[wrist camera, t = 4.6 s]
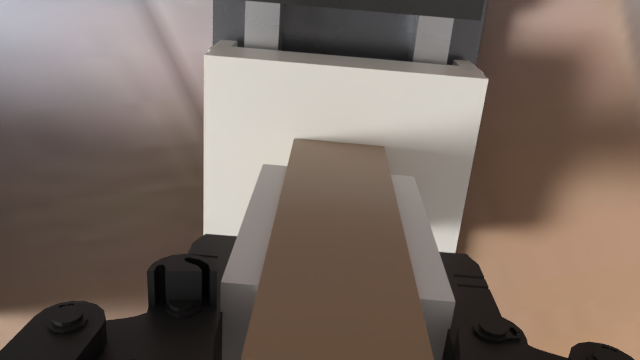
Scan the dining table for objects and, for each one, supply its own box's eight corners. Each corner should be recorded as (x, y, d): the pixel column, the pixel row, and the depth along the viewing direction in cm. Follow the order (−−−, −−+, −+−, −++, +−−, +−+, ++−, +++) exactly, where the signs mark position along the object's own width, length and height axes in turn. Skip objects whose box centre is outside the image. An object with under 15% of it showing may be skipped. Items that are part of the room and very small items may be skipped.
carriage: (435, 251, 24) (555, 621, 11) (218, 232, 24) (68, 580, 11) (469, 60, 21) (694, 247, 8) (221, 39, 21) (18, 189, 8)
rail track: (398, 451, 31) (404, 501, 28) (215, 436, 31) (202, 484, 28) (480, -14, 22) (501, -9, 19) (221, -36, 22) (204, -35, 19)
